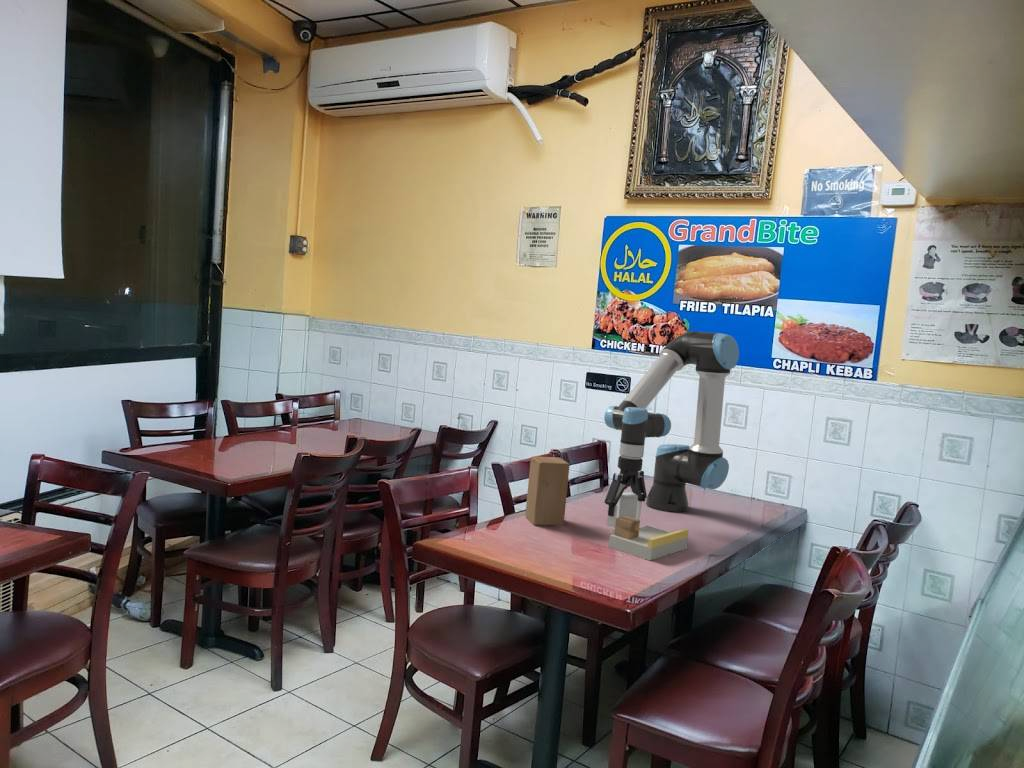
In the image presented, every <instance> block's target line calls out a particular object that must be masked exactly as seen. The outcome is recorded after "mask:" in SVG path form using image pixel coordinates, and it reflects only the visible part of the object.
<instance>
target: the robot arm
mask: <svg viewBox="0 0 1024 768" xmlns="http://www.w3.org/2000/svg"><path fill="white" fill-rule="evenodd" d="M739 349H740V348H739V346H738V343H737V341H736V339H735V338H734V337H733V336H732V335H729V334H726V333H721V332H706V331H696V330H695V331H694V330H693V331H687V332H684V333H682V334H679V335H678V336H676V337H675V338H674V339H671V341H669V342H668V343H667V344H666V345H665V346H664V347H663V348H662V350H661V351H660V352H659V355H658V359H657V360H656V361H655V362H654V363H653V364H652V366H650V368H649V369H648V371H646V373H645V374H644V375H643V377H642V378H641V379H640V380H639V381H638V382H637V384H636V385H635V386H633V389H632V390H630V392H629V393H628V394H627V396H626V397H625V398H624V399H623V400H622V402H621V403H620V404H619V405H618V406H617V405H611V406H609V407H608V408H607V409H606V410H605V413H604V415H603V416H604V417H603V418H604V419H603V420H604V422H605V425H606V426H607V427H608V428H610V429H613V430H616V431H621V435H620V443H619V452H618V457H617V458H618V459H617V467H618V469H619V470H620V472H619V473H617V472H614V473H613V474H612V480H611V483H610V486H609V489H608V492H607V494H606V496H605V499H604V504H605V505H608V510H607V521H606V526H608V527H611V528H612V527H615V524H616V518H617V509H618V506H616V505H617V503H618V501H619V499H620V497H621V495H622V494H623V492H625V491H626V490H627V489H628V488H629V487H630V488H631V492H632V493H634V494H636V495H638V501H637V509H636V517H635V519H638V520H640V521H641V511H642V503H643V502H645V504H647V505H646V506H648V507H649V506H650V507H649V508H652V509H654V510H659V511H663V510H664V511H663V512H671V511H673V512H674V513H680V512H681V511H683V512H686V510H687V511H688V510H689V499H688V495H687V490H686V484H689V485H692V486H696V487H699V488H702V489H707V490H717V489H718V488H720V487H721V486H722V485H723V484H724V482H725V481H726V479H727V477H728V474H729V470H730V465H729V464H730V463H729V461H728V459H726V458H725V457H724V450H723V449H722V448H721V447H720V441H721V440H720V439H721V429H722V418H723V417H722V416H723V408H724V407H723V406H724V394H725V382H726V378H727V377H728V376H729V375H730V374H731V370H732V369H734V368H735V367H736V366H737V363H738V362H739V359H740V358H739V357H740V350H739ZM687 365H695V372H696V373H697V375H699V379H698V391H697V401H696V402H697V404H696V412H695V414H696V415H695V429H694V437H693V438H694V439H693V443H692V444H691V445H688V444H676V443H675V444H674V443H673V444H671V443H670V444H669V443H668V444H660V445H658V447H657V448H656V454H655V462H654V471H653V482H652V486H651V487H650V489H649V492H648V493H647V489H646V483H645V471H644V470H642V469H643V457H644V455H645V452H644V451H645V443H646V442H645V441H646V438H661V437H666V436H667V435H668V434H669V433H670V431H671V430H672V421H671V419H670V418H669V416H668V415H666V414H665V413H659V412H656V413H652V412H648V410H647V407H648V406H650V404H651V402H653V400H654V399H655V398H656V397H657V395H658V394H659V393H660V391H662V389H663V388H664V387H665V386H666V385H667V383H668V382H669V381H670V379H671V378H672V377H673V376H674V375H675V374H676V372H679V371H682V370H683V368H684V367H685V366H687ZM673 512H672V513H673ZM681 513H682V512H681Z"/></svg>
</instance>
